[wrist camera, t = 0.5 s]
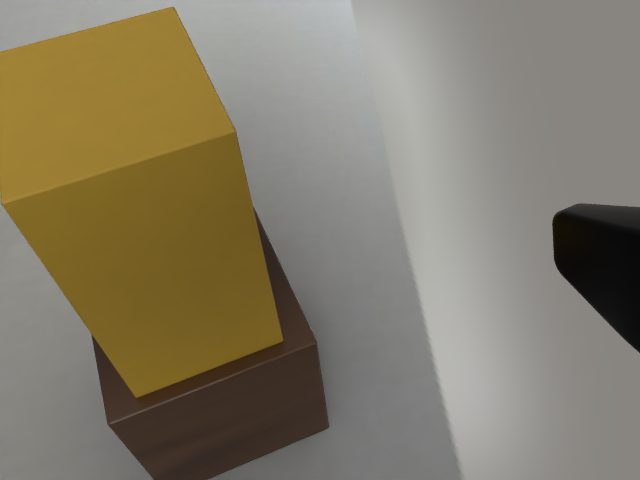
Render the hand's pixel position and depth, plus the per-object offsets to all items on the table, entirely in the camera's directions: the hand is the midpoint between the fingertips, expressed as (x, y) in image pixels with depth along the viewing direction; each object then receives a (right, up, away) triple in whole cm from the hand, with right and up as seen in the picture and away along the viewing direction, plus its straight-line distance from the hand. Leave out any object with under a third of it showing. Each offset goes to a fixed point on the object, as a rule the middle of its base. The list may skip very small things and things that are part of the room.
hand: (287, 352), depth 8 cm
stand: (-4, -5, +18) cm, 19 cm away
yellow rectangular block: (-4, -1, +13) cm, 14 cm away
